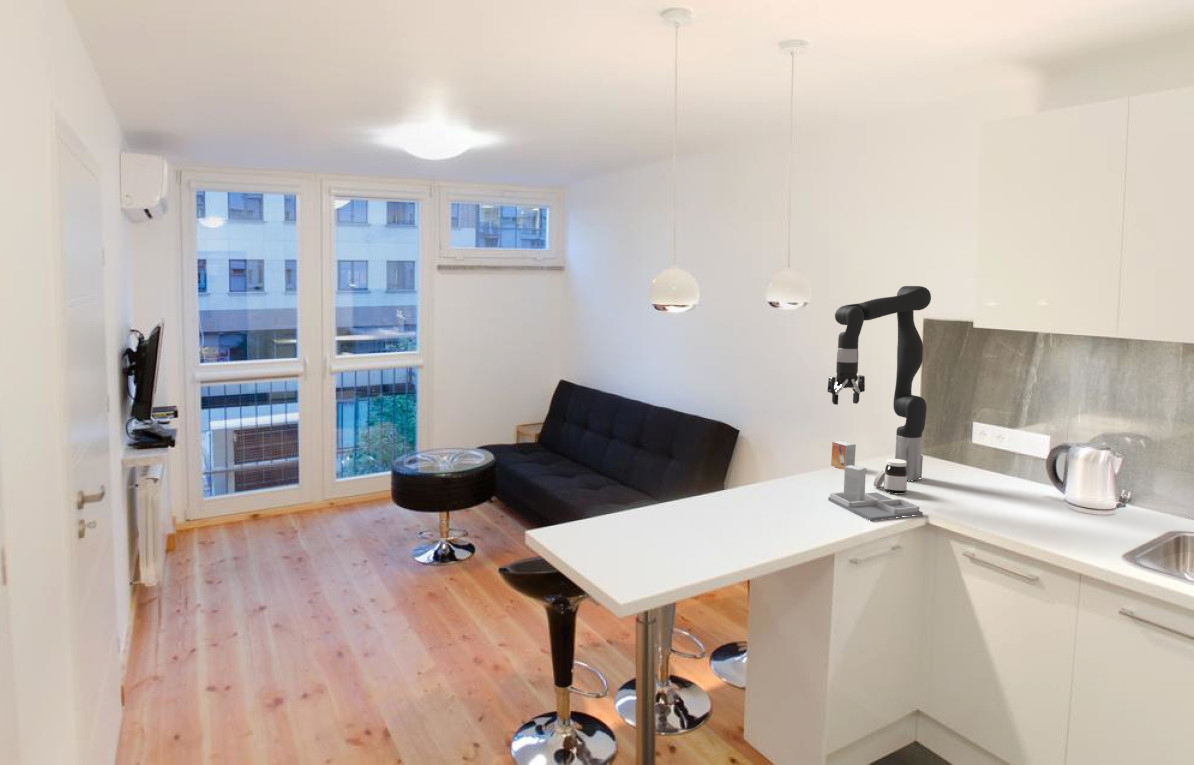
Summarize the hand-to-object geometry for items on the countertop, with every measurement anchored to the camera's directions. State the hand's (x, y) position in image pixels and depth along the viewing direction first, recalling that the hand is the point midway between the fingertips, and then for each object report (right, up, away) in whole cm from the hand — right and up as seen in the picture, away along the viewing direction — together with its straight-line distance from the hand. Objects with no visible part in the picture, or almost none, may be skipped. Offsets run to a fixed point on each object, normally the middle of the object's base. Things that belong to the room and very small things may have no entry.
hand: (845, 403), depth 274 cm
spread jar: (+17, -33, +1) cm, 37 cm away
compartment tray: (+3, -35, -20) cm, 41 cm away
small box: (+10, -28, +34) cm, 45 cm away
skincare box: (-2, -34, -16) cm, 37 cm away
